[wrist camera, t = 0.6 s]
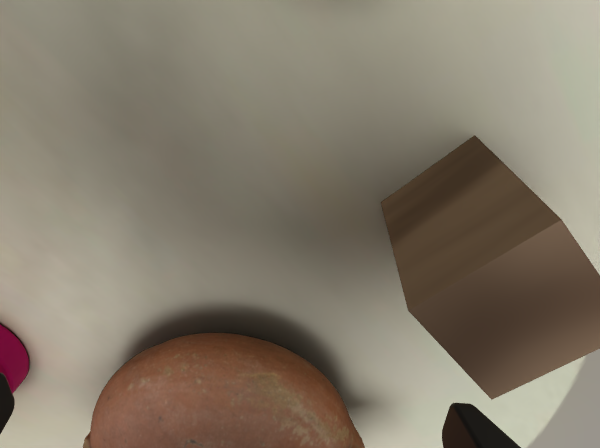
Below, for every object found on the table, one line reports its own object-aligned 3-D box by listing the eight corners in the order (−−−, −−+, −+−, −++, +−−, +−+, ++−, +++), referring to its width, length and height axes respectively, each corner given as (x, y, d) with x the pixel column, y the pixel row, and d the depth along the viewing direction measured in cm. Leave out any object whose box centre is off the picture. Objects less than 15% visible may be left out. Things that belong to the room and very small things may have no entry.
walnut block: (380, 202, 21) (408, 310, 14) (475, 135, 19) (561, 219, 12) (439, 270, 22) (491, 399, 15) (531, 214, 21) (637, 330, 14)
